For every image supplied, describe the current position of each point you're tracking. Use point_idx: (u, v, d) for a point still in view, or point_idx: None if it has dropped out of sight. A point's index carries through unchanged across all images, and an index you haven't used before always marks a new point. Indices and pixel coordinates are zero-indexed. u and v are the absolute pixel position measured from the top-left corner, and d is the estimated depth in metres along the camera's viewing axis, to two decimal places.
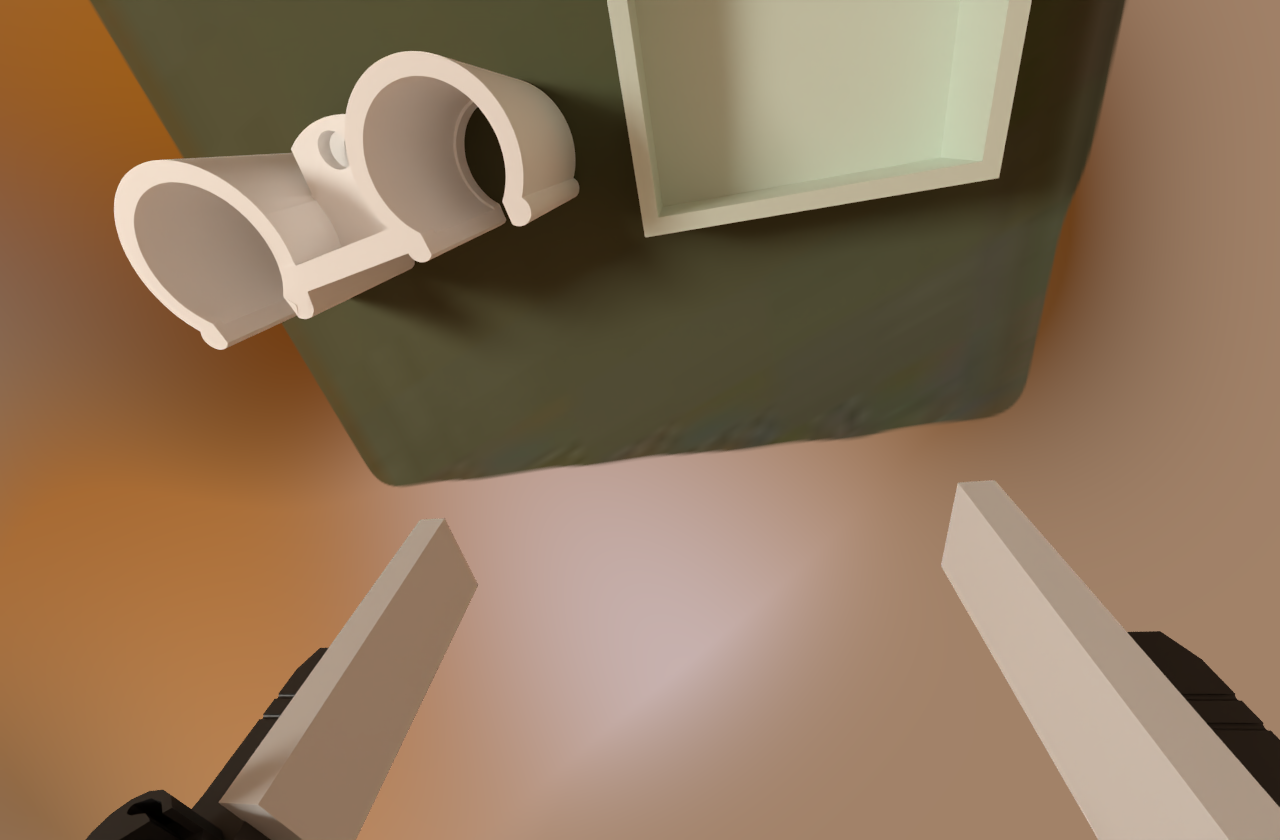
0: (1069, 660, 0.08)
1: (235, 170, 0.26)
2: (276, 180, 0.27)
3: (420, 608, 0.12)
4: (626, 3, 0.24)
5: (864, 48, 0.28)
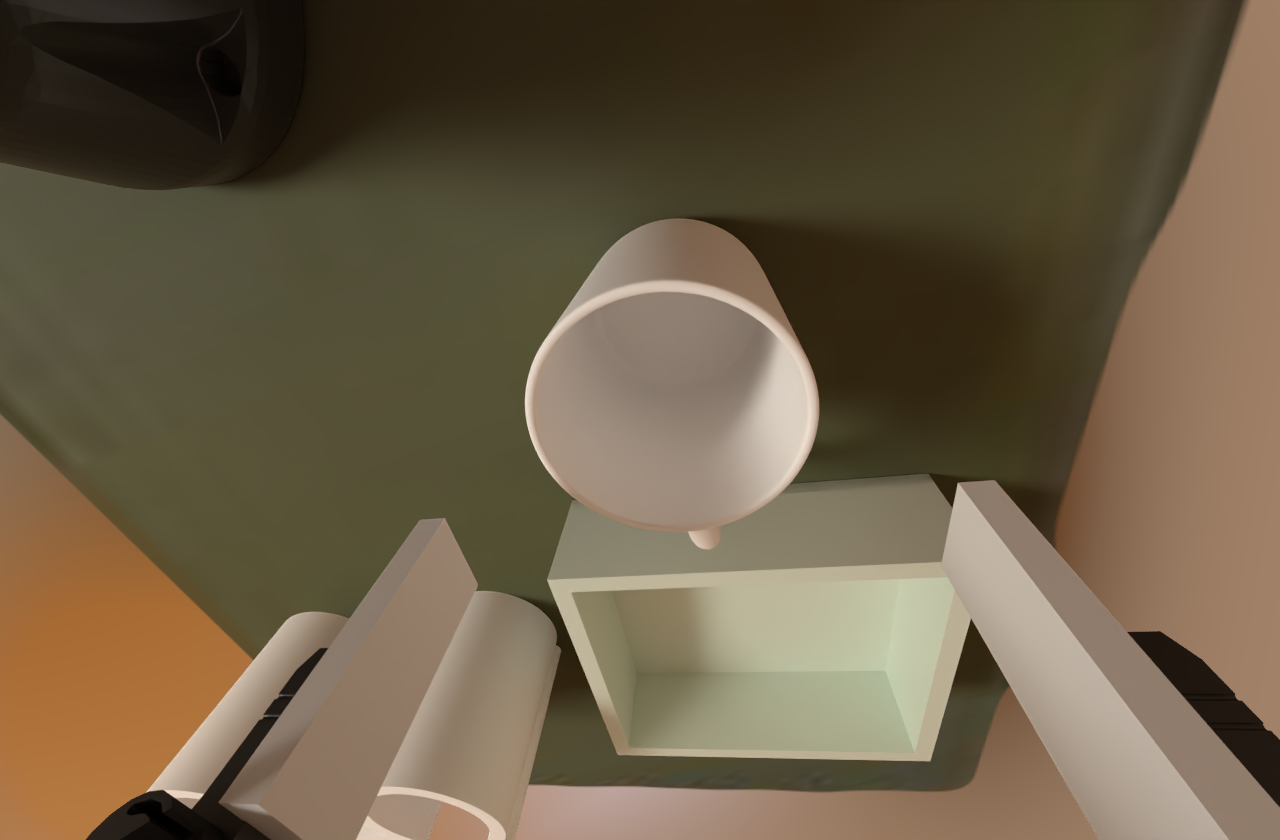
0: (1069, 660, 0.08)
1: None
2: None
3: (420, 608, 0.12)
4: (595, 659, 0.27)
5: (813, 613, 0.31)
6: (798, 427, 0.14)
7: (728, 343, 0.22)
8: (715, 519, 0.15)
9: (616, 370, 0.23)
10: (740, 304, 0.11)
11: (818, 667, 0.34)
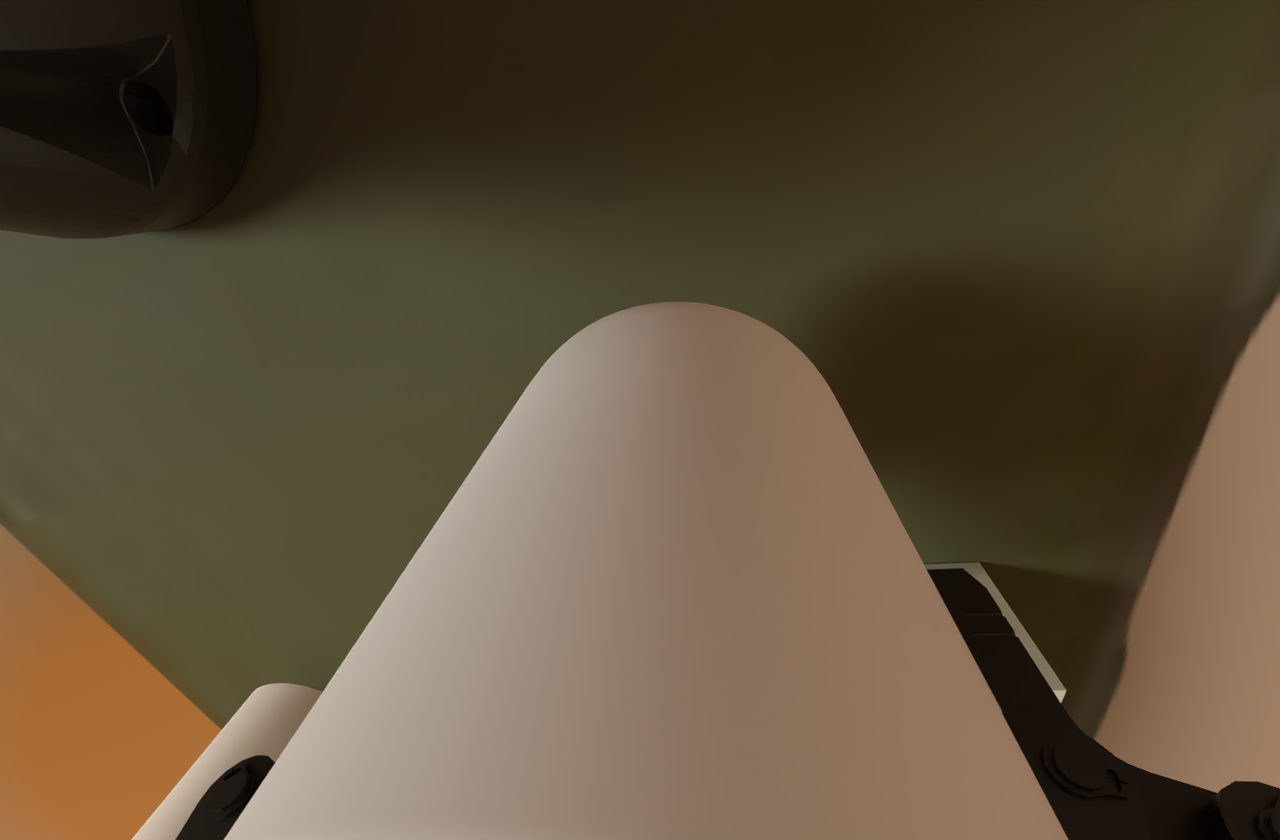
0: None
1: None
2: None
3: None
4: None
5: None
6: None
7: None
8: None
9: None
10: None
11: None
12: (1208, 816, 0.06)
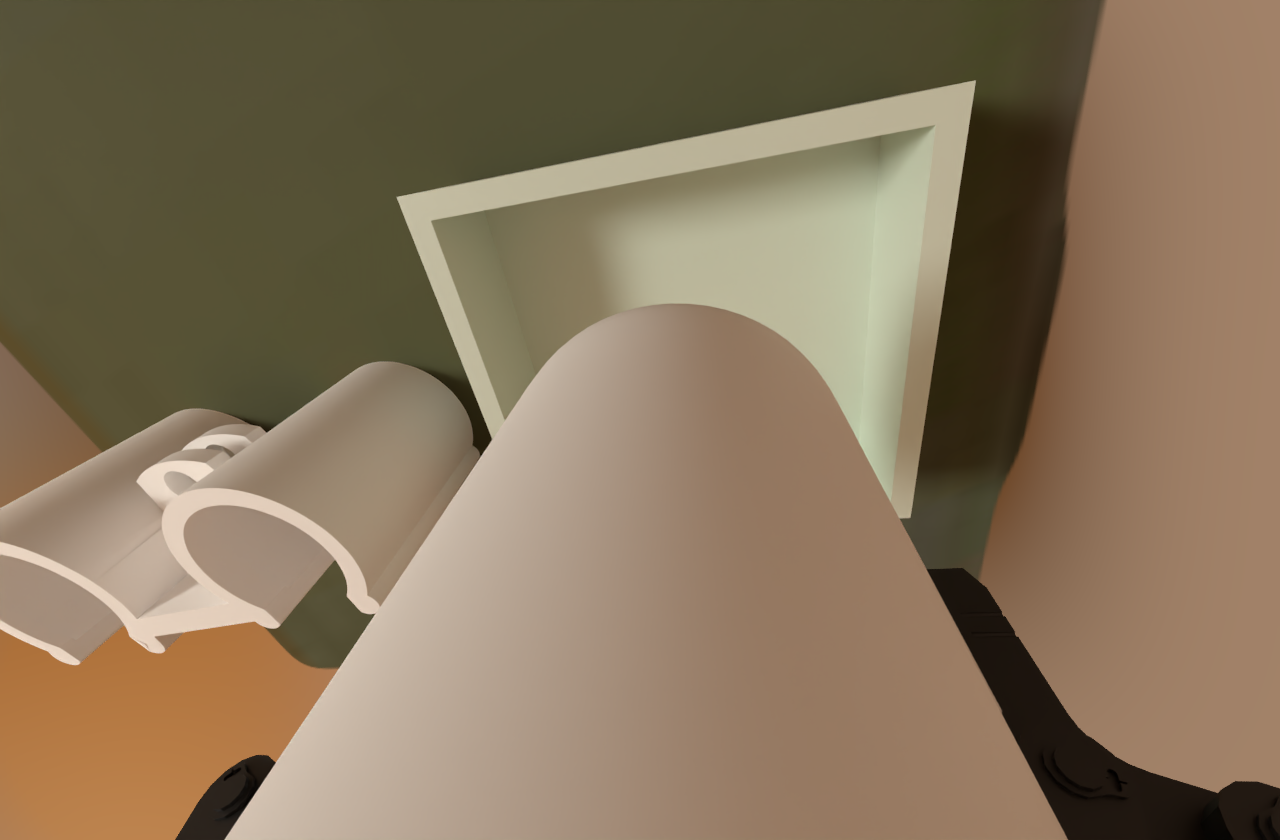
0: None
1: (65, 525, 0.23)
2: (121, 514, 0.25)
3: None
4: (480, 357, 0.21)
5: None
6: None
7: None
8: None
9: None
10: None
11: None
12: (1207, 815, 0.06)
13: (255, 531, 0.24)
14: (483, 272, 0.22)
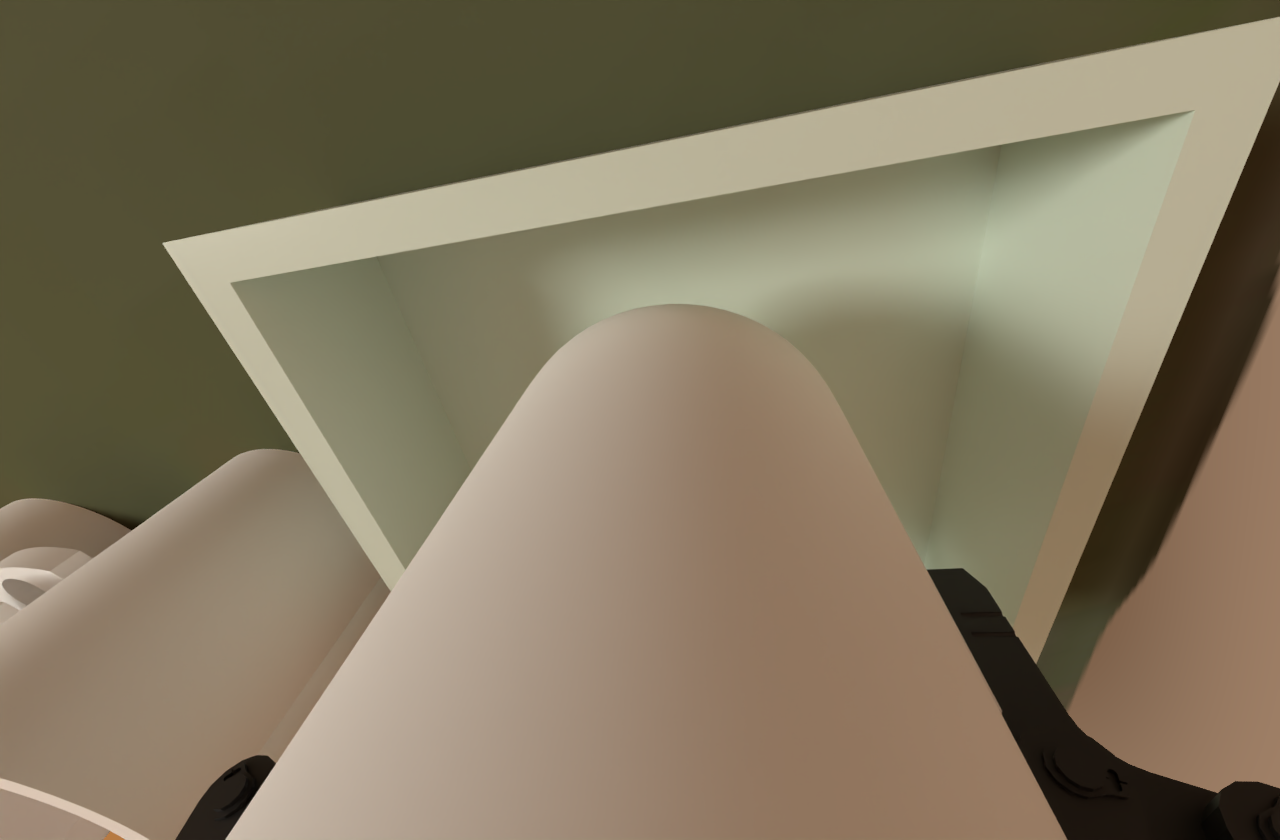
0: None
1: None
2: None
3: None
4: (353, 486, 0.13)
5: None
6: None
7: None
8: None
9: None
10: None
11: None
12: (1207, 815, 0.06)
13: None
14: (366, 345, 0.14)
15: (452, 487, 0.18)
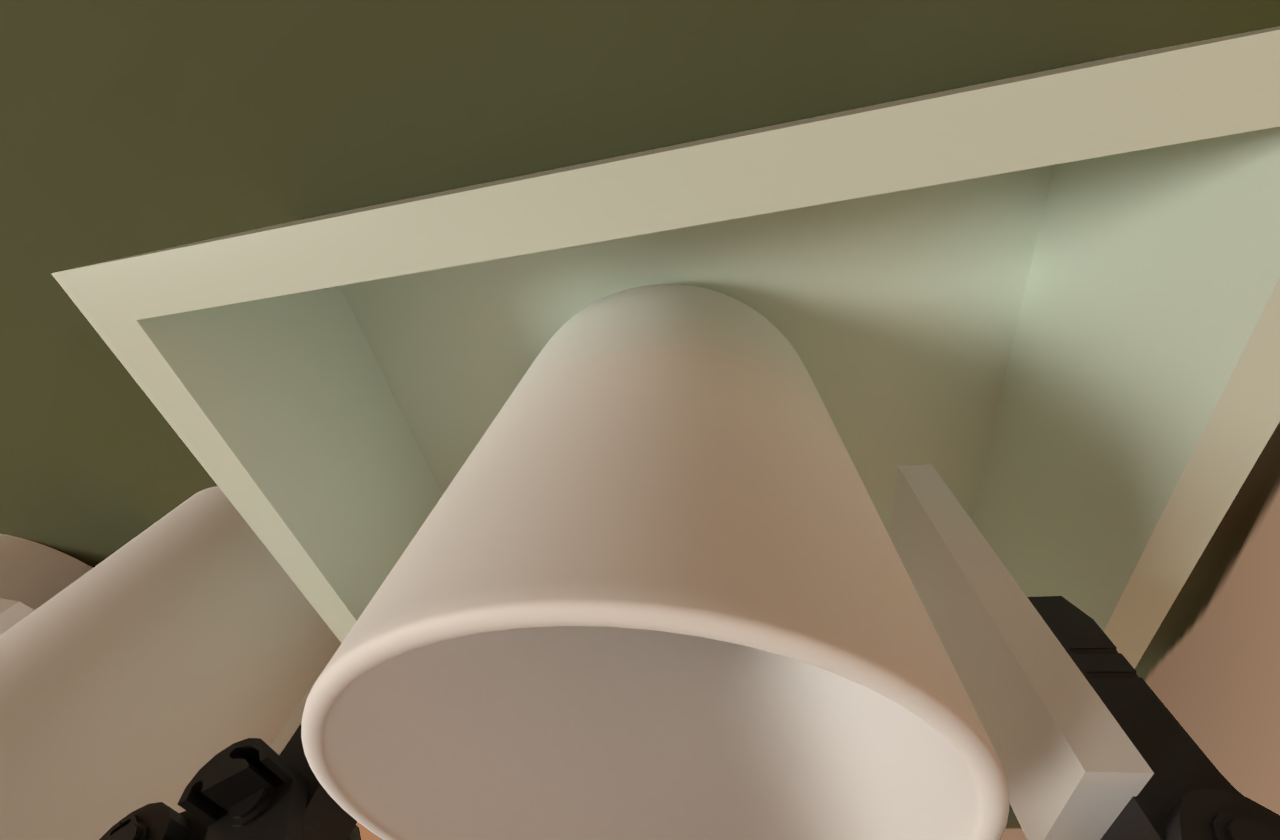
0: (976, 621, 0.08)
1: None
2: None
3: None
4: (301, 547, 0.11)
5: None
6: (924, 794, 0.06)
7: None
8: None
9: None
10: (833, 668, 0.04)
11: None
12: None
13: None
14: (321, 381, 0.12)
15: None
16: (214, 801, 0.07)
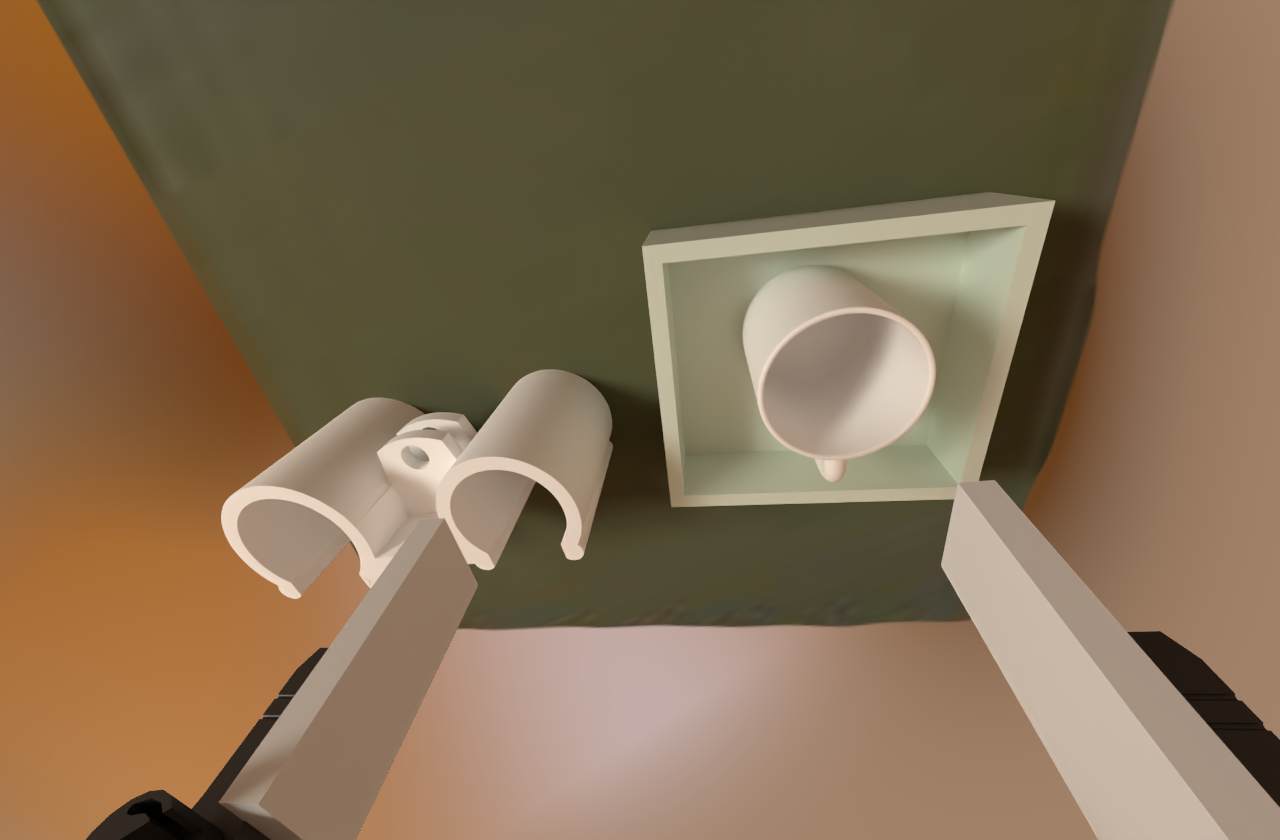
0: (1069, 660, 0.08)
1: (332, 482, 0.30)
2: (362, 477, 0.32)
3: (420, 608, 0.12)
4: (670, 361, 0.29)
5: None
6: (916, 396, 0.24)
7: (836, 350, 0.32)
8: (857, 452, 0.25)
9: None
10: (903, 322, 0.21)
11: None
12: None
13: (472, 495, 0.31)
14: (669, 298, 0.30)
15: (677, 382, 0.33)
16: None
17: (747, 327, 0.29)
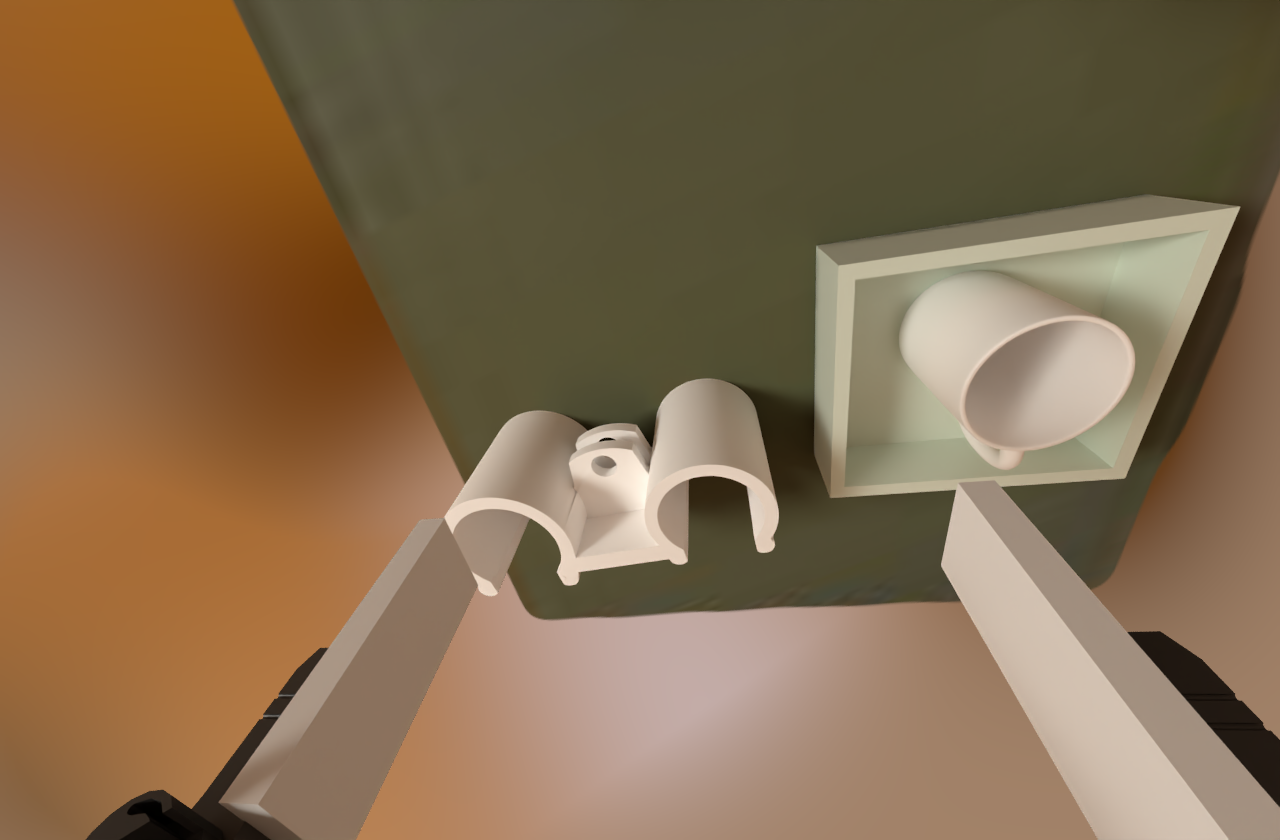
0: (1069, 660, 0.08)
1: (538, 492, 0.34)
2: (556, 486, 0.36)
3: (420, 608, 0.12)
4: (849, 366, 0.31)
5: None
6: (1107, 390, 0.26)
7: None
8: (1046, 443, 0.28)
9: None
10: (1111, 327, 0.24)
11: None
12: None
13: None
14: None
15: None
16: None
17: (916, 331, 0.32)
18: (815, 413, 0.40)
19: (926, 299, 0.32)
